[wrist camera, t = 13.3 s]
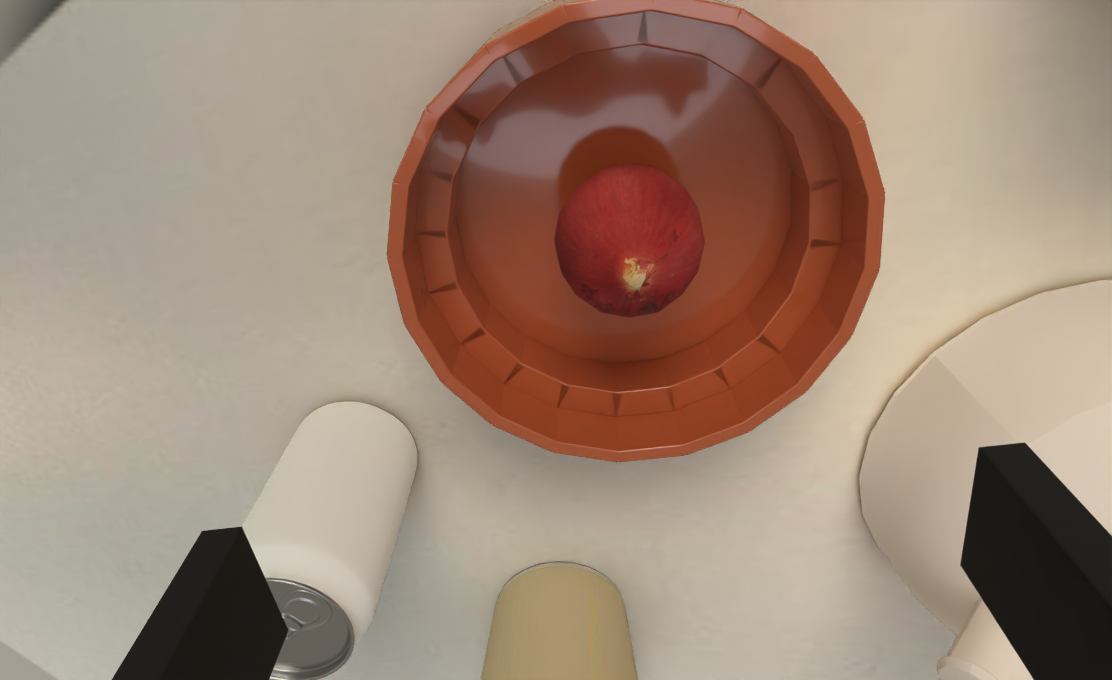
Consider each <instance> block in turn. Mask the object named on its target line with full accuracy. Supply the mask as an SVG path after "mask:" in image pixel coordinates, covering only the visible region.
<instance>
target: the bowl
mask: <svg viewBox="0 0 1112 680" xmlns="http://www.w3.org/2000/svg"><path fill="white" fill-rule="evenodd" d="M626 164H636V165H642V166H648V167H655V168H658V169H659V170H661V171H662V172H664V173H665V174H667V175H668V176H670V177H671V178H673V179H674V180H676V181H677V182H679V183H680V184H682V185H683V186H684V187H685V188H686V190H687V191H688V193H689V195H690V196H691V198H692V199H693V201H694V203H695V204H696V206H697V207H698V209H699V214H700V218H701V223H702V228H703V233H704V238H705V245H704V249H703V253H702V258H701V262H700V266H699V270H698V273H697V274H696V276H695V277H694V279H693V280H692V281H691V283H690V284H689V286H688V287H687V289H686V290H685V292H684V293H683V295H681V296H680V297H678V298H677V299H676V300H674V301H673V302H672V303H670V304H669V305H668V306H666V307H665V308H664V309H662V310H661V311H660V312H657V313H652V314H646V315H641V316H636V317H630V318H628V317H622V316H617V315H612V314H606V313H601V312H600V311H598V310H597V309H595V308H594V307H592V306H591V305H589V304H588V303H587V302H585V301H584V300H582V299H581V298H579V297H578V296H576V295H575V293H574V292H573V290H572V289H571V287H570V286H569V284H568V283H567V281H566V279H565V278H564V276H563V275H562V273H561V269H560V266H559V261H558V257H557V252H556V248H555V243H554V237H555V232H556V226H557V220H558V214H559V212H560V210H561V209H562V207H563V206H564V205H565V203H566V202H567V200H568V199H569V198H570V196H571V195H572V194H573V192H574V191H575V189H576V188H577V187H578V186H579V184H581V183H582V182H584V181H585V180H587V179H589V178H590V177H592V176H593V175H595V174H596V173H598V172H600V171H601V170H603V169H607V168H612V167H617V166H621V165H626ZM393 181H394V182H393V183H392V194H391V207H390V220H389V232H388V245H387V256H388V257H387V259H388V263H389V267H390V271H391V275H392V279H393V283H394V287H395V291H396V294H397V298H398V302H399V306H400V310H401V314H402V318H403V322H404V324H405V327H406V328H407V330H408V331H409V333H410V334H411V336H412V338H413V339H414V341H415V342H416V344H417V345H418V347H419V348H420V350H421V352H422V353H423V355H424V356H425V358H426V359H427V361H428V362H429V364H430V366H431V367H432V369H433V370H434V372H435V373H436V375H437V377H438V378H439V380H440V381H441V382H442V383H443V384H444V385H445V386H446V387H447V388H449V389H450V390H451V391H452V392H453V393H454V394H456V395H457V396H458V397H459V398H460V399H462V400H463V401H464V402H465V403H466V404H468V405H469V406H470V407H471V408H472V409H473V410H475V411H476V412H477V413H478V414H479V415H481V416H482V417H483V418H484V419H485V420H487V421H488V422H489V423H490V424H493V426H495V427H497V428H499V429H502V430H504V431H506V432H508V433H511V434H513V435H515V436H517V437H520V438H522V439H524V440H526V441H529V442H531V443H533V444H535V445H538V446H540V447H542V448H544V449H547V450H549V451H551V452H552V451H553V452H554V453H561V454H567V455H573V456H580V457H586V458H593V459H599V460H606V461H612V462H618V461H619V462H626V461H636V460H646V459H656V458H666V457H675V456H684V455H688V454H691V453H694V452H696V451H699V450H702V449H705V448H707V447H710V446H713V445H715V444H718V443H721V442H724V441H726V440H729V439H732V438H734V437H737V436H740V435H742V434H745V433H748V432H749V431H751V430H753V429H754V428H756V427H757V426H758V425H760V424H761V423H763V422H764V421H766V420H767V419H768V418H770V417H771V416H773V415H774V414H776V413H777V412H778V411H780V410H781V409H783V408H784V407H786V406H787V405H788V404H790V403H791V402H793V401H794V400H796V399H797V398H798V397H800V396H801V395H803V394H804V393H805V392H806V391H808V389H809V388H810V387H811V386H812V385H813V383H814V382H815V381H816V380H817V378H818V377H819V376H820V375H821V374H822V372H823V371H824V370H825V369H826V368H827V366H828V365H829V364H830V363H831V361H832V360H833V359H834V358H835V357H836V355H837V354H838V353H839V352H840V350H841V349H842V348H843V347H844V346H845V344H846V343H847V342H848V341H849V339H850V338H851V336H852V335H853V333H854V330H855V328H856V325H857V323H858V321H859V318H860V316H861V313H862V311H863V308H864V306H865V304H866V301H867V299H868V296H869V294H870V292H871V289H872V287H873V284H874V282H875V279H876V277H877V275H878V272H879V268H880V259H881V245H882V231H883V217H884V203H885V195H884V194H885V191H884V188H883V184H882V181H881V177H880V174H879V170H878V167H877V163H876V159H875V156H874V152H873V149H872V145H871V142H870V138H869V135H868V131H867V128H866V124H865V121H864V120H863V117H862V116H861V115H860V113H859V112H858V111H857V109H856V108H855V107H854V105H853V104H852V103H851V101H850V100H849V99H848V97H847V96H846V95H845V93H844V92H843V91H842V89H841V88H840V87H839V85H838V84H837V83H836V81H835V80H834V79H833V77H832V76H831V74H830V73H829V72H828V70H827V69H826V68H825V66H824V65H823V64H822V62H821V61H820V60H819V58H818V57H817V56H816V55H814V53H813V52H812V51H810V50H808V49H807V48H805V47H804V46H802V45H800V44H799V43H797V42H796V41H794V40H792V39H791V38H789V37H788V36H786V35H784V34H783V33H781V32H780V31H778V30H776V29H775V28H773V27H772V26H770V25H768V24H767V23H765V22H764V21H762V20H760V19H759V18H757V17H756V16H754V15H752V14H751V13H749V12H748V11H746V10H744V9H742V8H740V7H737V6H734V5H730V4H727V3H724V2H721V1H718V0H553V1H551V2H549V3H548V4H546V5H544V6H542V7H540V8H538V9H536V10H534V11H532V12H531V13H529V14H527V15H525V16H523V17H521V18H519V19H517V20H515V21H514V22H512V23H510V24H508V25H506V26H504V27H502V28H500V29H498V31H497V32H495V33H494V34H493V35H492V36H491V37H490V38H489V39H488V40H487V41H486V43H485V44H484V45H483V46H482V47H481V48H480V49H479V50H478V51H477V52H476V53H475V54H474V55H473V56H472V58H471V59H470V60H469V61H468V62H467V63H466V64H465V65H464V66H463V67H462V68H461V69H460V70H459V71H458V73H457V74H456V75H455V76H454V77H453V78H452V79H451V80H450V81H449V82H448V83H447V84H446V85H445V87H444V88H443V89H442V90H441V91H440V92H439V93H438V94H437V95H436V97H435V98H434V99H433V100H432V101H431V102H430V103H429V104H428V105H427V106H426V109H425V110H424V111H423V114H422V116H421V118H420V121H419V123H418V125H417V127H416V130H415V132H414V134H413V136H412V139H411V141H410V143H409V145H408V148H407V150H406V152H405V155H404V157H403V159H402V161H401V164H400V166H399V168H398V170H397V173H396V175H395V177H394V179H393Z"/></svg>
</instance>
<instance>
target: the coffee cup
mask: <svg viewBox="0 0 1112 680" xmlns="http://www.w3.org/2000/svg"><path fill="white" fill-rule="evenodd" d="M481 680H638V677H637V671H636V665H635V660H634V654H633V649H632V643H631V637H630V632H629V626H628V621H627V616H626V612H625V607H624V603H623V599H622V597H621V595H620V593H619V591H618V589H617V588H616V586H615V585H614V584H613V583H612V582H611V581H610V580H609V579H608V578H607V577H606V576H604V575H603V574H601V573H599V572H598V571H596V570H594V569H591V568H589V567H586V566H583V565H579V564H574V563H564V562H555V563H545V564H540V565H537V566H533V567H531V568H528V569H526V570H524V571H522V572H520V573H518V574H517V575H515V576H514V577H513V578H512V579H510V580H509V581H508V583H507V584H506V585H505V586H504V587H503V589H502V591H501V592H500V594H499V597H498V600H497V603H496V607H495V611H494V616H493V620H492V625H491V630H490V635H489V640H488V645H487V651H486V656H485V661H484V666H483V671H482V676H481Z"/></svg>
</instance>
